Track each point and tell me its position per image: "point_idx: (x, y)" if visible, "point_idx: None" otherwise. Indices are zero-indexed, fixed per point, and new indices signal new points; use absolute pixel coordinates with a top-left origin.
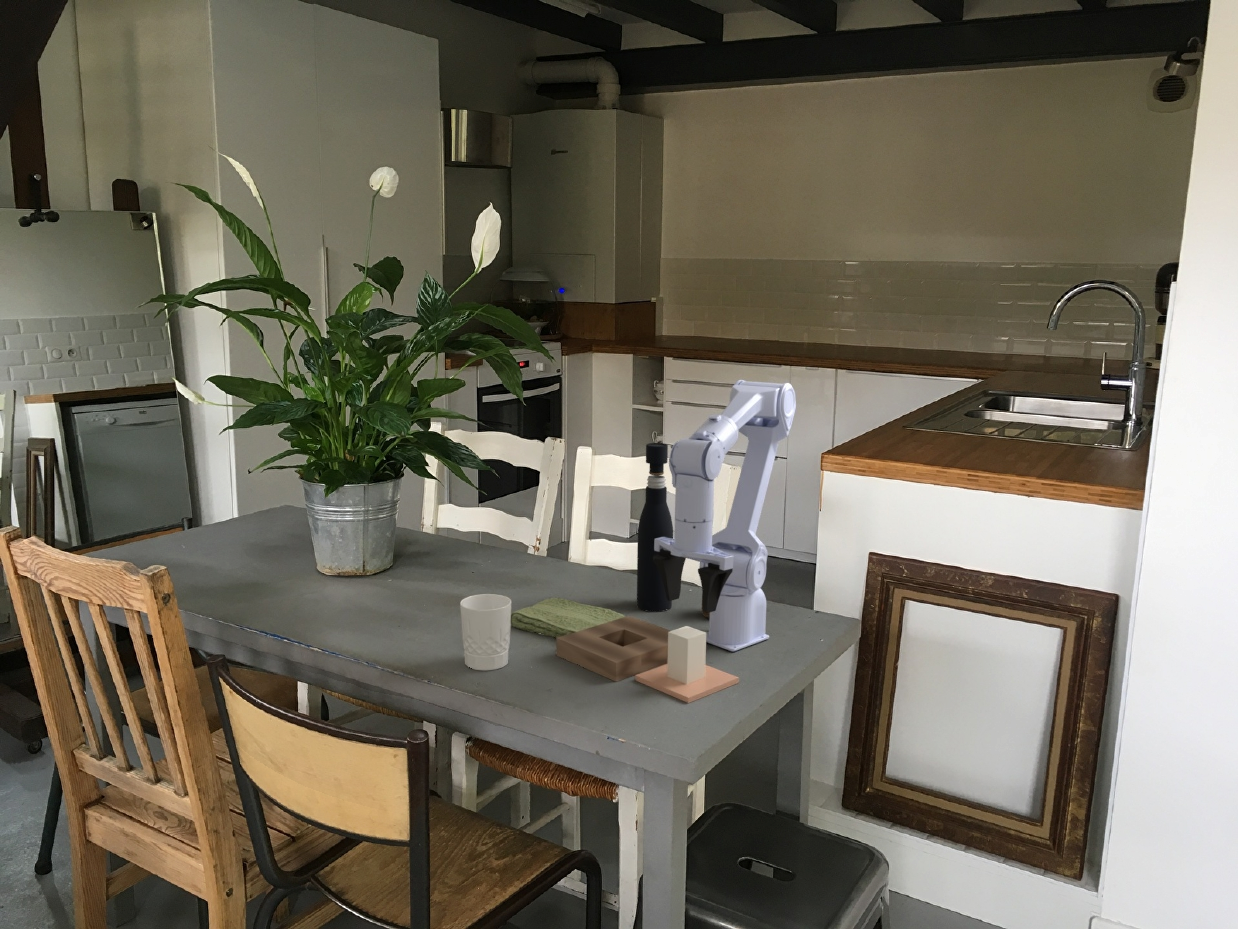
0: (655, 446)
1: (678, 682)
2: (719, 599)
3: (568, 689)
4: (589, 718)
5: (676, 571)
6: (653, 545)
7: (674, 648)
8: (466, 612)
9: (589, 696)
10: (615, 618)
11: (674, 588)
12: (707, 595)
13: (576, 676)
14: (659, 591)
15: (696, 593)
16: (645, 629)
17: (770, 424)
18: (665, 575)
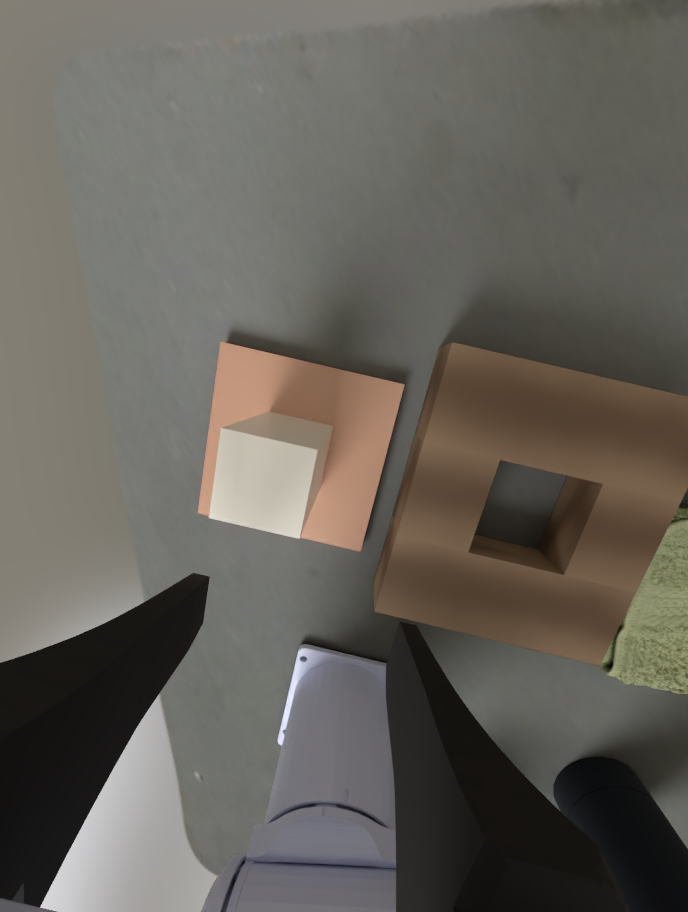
0: None
1: (290, 408)
2: (338, 783)
3: (525, 224)
4: (373, 91)
5: (411, 807)
6: None
7: (296, 434)
8: None
9: (450, 221)
10: (635, 654)
11: (399, 690)
12: (121, 616)
13: (551, 315)
14: (601, 830)
15: None
16: (507, 602)
17: None
18: (442, 727)
